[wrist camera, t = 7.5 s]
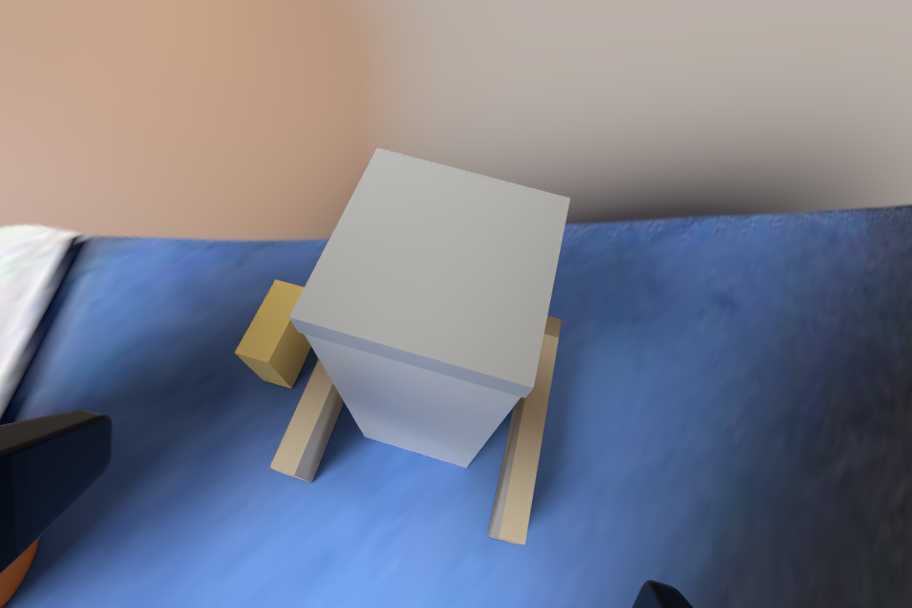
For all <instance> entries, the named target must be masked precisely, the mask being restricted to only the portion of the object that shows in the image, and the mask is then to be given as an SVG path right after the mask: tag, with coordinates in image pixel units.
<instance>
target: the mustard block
mask: <svg viewBox="0 0 912 608" xmlns="http://www.w3.org/2000/svg"><path fill="white" fill-rule="evenodd" d="M303 289H304V287H301V286H298V285H294V284H290V283H287V282H283V281H279V280H276V279H275V281H274V283H273V285H272V286H271V288H270V290H269V292H268V294H267V295H266V297H265V299H264V301H263V303H262V304H261V306H260V308H259V310H258V312H257V313H256V315H255V317H254V319H253V321H252V322H251V324H250V326H249V328H248V329H247V331H246V333H245V335H244V337H243V338H242V340H241V342H240V344H239V346H238V347H237V349H236V351H235V354H236V355H237V356H238V357H239V358H240V359H241V360H242V361H244V362H245V363H246V364H247V365H248V366H249V367H250V368H251V369H252V370H253V371H254V372H255V373H256V374H257V375H258V376H259V377H260V378H261V379H262V380H263V381H267V382H270V383H274V384H277V385H280V386H284V387H287V388H291V389H292V387H293V385H294V383H295V381H296V379H297V377H298V375H299V372H300V370H301V368H302V366H303V364H304V362H305V360H306V357H307V355H308V353H309V351H310V349H311V345H310V343H309V341H308V340H307V338H306V336H305V335H304V334H303V333H299V332H298V331H297V330H296V328H295V326H294V325H293V323H292V321H291V320H290V318H289V316H290V314H291V312H292V310H293V308H294V306H295V304H296V303H297V301H298V299H299V297H300V295H301V293H302V291H303Z"/></svg>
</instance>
